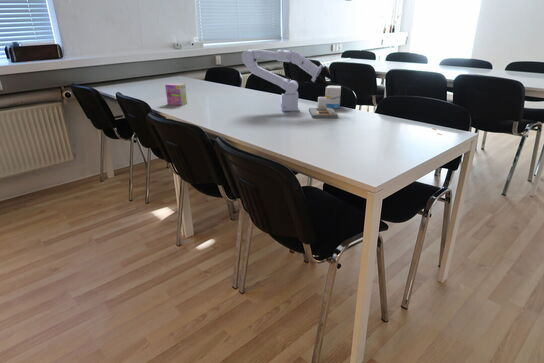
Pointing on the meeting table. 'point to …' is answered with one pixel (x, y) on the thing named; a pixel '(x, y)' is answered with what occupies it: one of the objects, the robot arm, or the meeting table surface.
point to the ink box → (333, 96)
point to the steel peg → (321, 104)
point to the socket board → (323, 113)
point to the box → (176, 94)
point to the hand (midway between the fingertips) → (330, 81)
